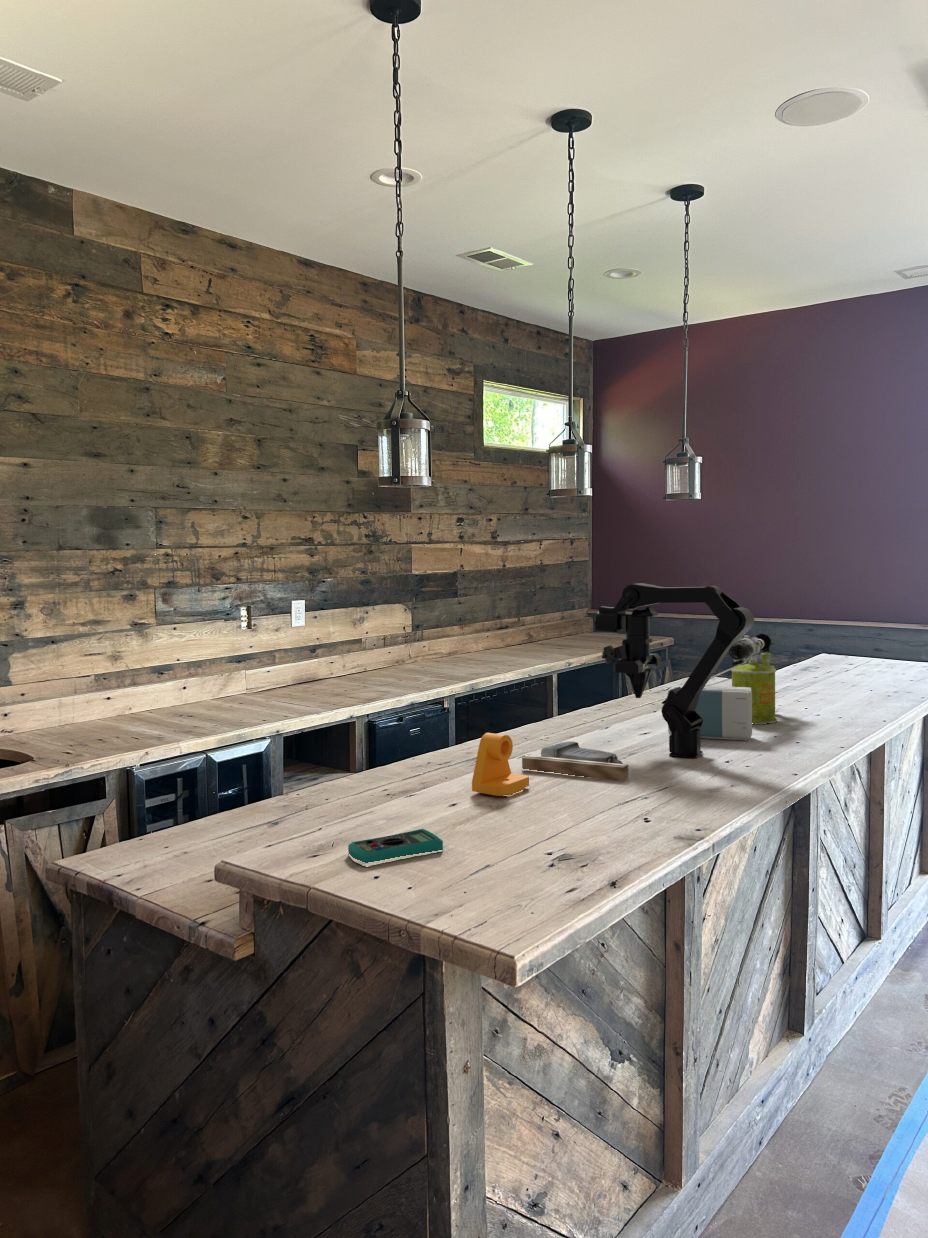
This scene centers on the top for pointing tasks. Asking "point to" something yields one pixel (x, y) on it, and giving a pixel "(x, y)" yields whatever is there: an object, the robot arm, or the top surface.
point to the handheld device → (578, 753)
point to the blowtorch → (755, 675)
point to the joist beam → (577, 767)
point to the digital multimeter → (395, 846)
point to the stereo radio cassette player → (724, 711)
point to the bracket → (496, 767)
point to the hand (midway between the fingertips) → (638, 697)
